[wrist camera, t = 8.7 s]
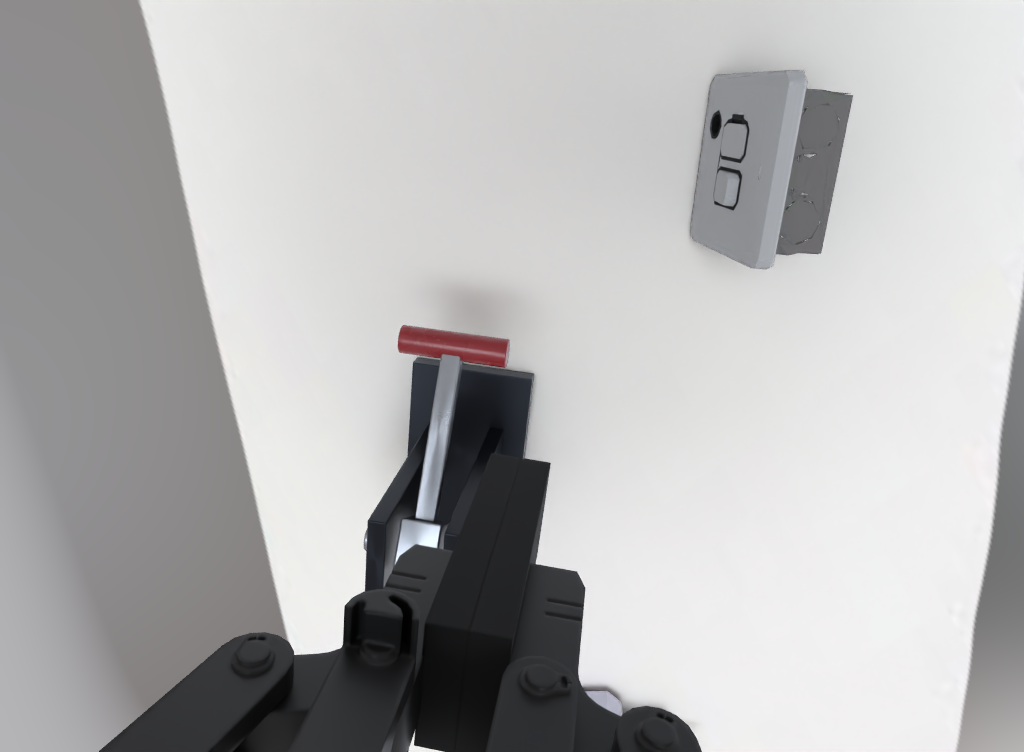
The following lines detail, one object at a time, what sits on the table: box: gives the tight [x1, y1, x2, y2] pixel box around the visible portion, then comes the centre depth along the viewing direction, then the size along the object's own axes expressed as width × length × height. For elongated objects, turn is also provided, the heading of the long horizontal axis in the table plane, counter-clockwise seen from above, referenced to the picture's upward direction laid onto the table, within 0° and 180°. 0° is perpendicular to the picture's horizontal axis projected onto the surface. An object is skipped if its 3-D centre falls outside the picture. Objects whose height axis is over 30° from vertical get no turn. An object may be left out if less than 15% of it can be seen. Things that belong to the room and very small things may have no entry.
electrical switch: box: [690, 70, 853, 269], centre depth 40 cm, size 9×5×9 cm, turn 176°
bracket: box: [364, 358, 534, 591], centre depth 46 cm, size 12×8×15 cm, turn 174°
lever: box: [393, 325, 510, 568], centre depth 41 cm, size 13×6×2 cm, turn 174°
